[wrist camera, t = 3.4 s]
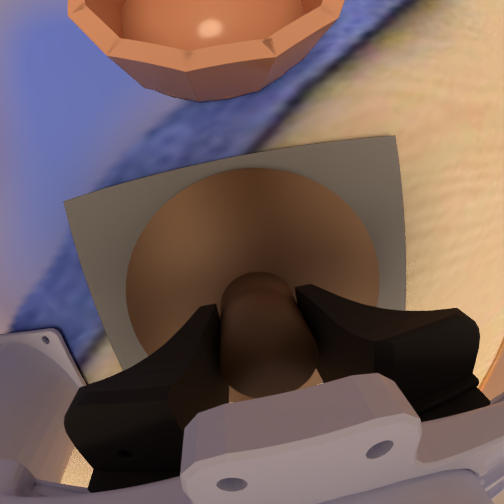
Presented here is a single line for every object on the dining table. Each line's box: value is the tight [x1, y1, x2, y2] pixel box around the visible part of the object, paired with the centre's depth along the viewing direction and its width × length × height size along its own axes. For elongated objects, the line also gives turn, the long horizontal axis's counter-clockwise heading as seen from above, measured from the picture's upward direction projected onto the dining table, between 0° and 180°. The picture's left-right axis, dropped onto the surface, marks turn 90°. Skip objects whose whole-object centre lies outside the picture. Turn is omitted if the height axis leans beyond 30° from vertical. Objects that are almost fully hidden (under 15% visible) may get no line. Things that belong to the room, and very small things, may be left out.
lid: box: [126, 168, 380, 402], centre depth 11 cm, size 11×11×5 cm
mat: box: [64, 136, 406, 383], centre depth 14 cm, size 15×12×1 cm
